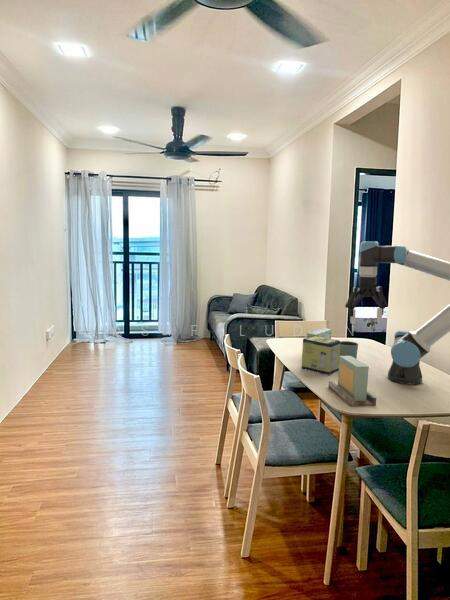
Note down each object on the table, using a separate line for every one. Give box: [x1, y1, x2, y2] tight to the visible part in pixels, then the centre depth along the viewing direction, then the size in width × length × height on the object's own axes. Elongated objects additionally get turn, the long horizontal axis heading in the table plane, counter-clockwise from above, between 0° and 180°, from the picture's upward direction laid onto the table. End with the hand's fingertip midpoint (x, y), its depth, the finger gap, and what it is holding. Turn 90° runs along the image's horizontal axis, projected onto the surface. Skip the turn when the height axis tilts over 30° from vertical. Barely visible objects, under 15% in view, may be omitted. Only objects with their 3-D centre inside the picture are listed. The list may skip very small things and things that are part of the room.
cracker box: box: [337, 356, 370, 401], centre depth 178 cm, size 16×5×14 cm, turn 9°
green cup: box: [339, 340, 359, 360], centre depth 223 cm, size 10×10×12 cm
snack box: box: [306, 327, 333, 339], centre depth 238 cm, size 21×6×15 cm, turn 143°
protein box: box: [301, 336, 341, 376], centre depth 215 cm, size 10×16×16 cm
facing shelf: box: [328, 380, 377, 407], centre depth 179 cm, size 11×22×3 cm, turn 9°
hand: (365, 323), depth 195 cm, fingers open, 13 cm apart
